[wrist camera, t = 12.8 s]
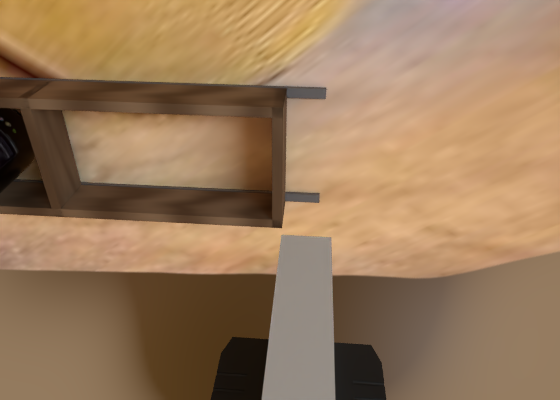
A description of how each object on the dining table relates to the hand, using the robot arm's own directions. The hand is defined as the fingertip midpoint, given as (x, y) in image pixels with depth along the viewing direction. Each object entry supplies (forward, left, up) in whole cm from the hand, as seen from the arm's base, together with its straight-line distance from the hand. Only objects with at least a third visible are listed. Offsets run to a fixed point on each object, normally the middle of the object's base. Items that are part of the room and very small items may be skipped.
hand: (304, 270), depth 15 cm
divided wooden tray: (+8, -17, -24) cm, 30 cm away
